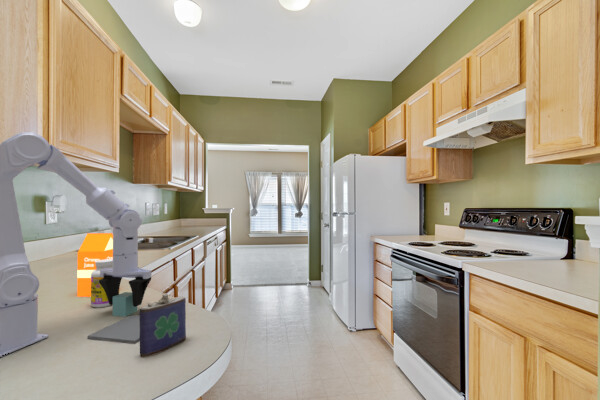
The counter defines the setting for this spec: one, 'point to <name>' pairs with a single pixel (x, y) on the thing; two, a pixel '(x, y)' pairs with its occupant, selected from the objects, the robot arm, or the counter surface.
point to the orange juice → (92, 259)
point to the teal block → (123, 304)
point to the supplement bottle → (97, 290)
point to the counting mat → (120, 331)
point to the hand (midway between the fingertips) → (125, 304)
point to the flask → (162, 325)
